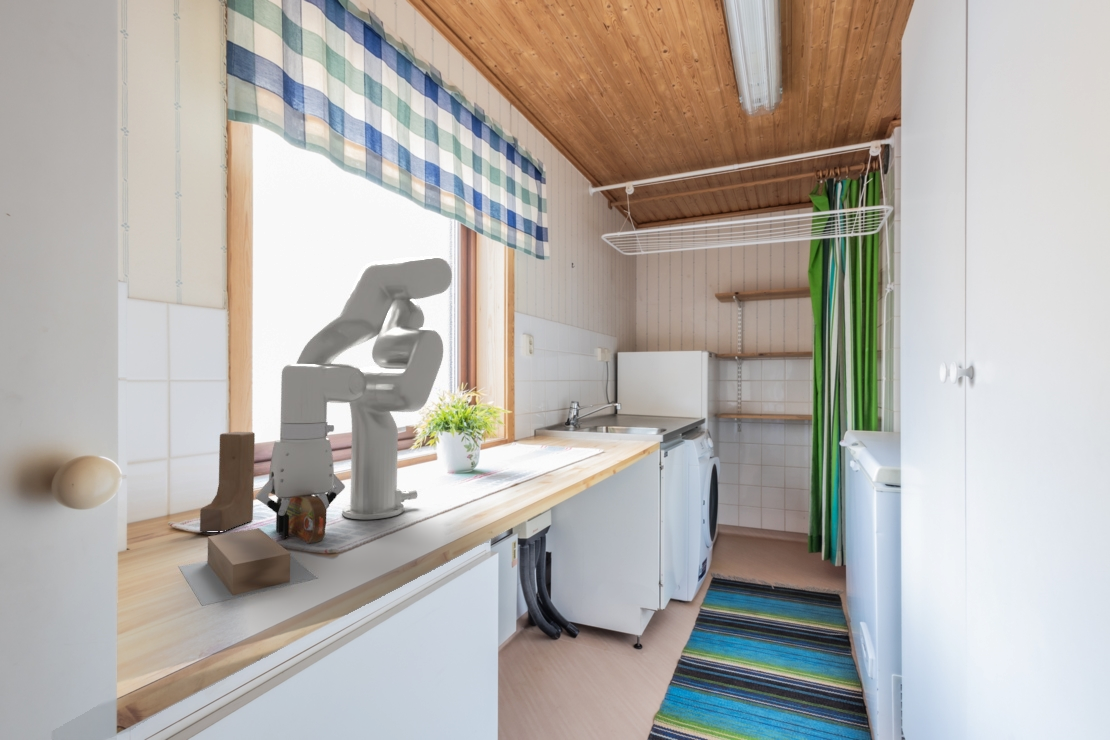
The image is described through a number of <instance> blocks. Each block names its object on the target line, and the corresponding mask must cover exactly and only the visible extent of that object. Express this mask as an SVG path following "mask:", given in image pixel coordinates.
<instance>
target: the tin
mask: <svg viewBox="0 0 1110 740" xmlns="http://www.w3.org/2000/svg"><path fill="white" fill-rule="evenodd" d="M286 511H287V515H289V534H291V535H292V536H295V538H296V537H297V538H298V539H301V540H302V541H304V542H306V544H307V545H309V544H313V543H318V542H321V541H323V539H324V537H325V534H326V525H327V509H326V508H325V505H324V503H323V501H322V500H321V499H320V498H318V497H315V495H309V496H300V497H294V498H291V499H290V502H289V505H288V507H287V510H286Z"/></svg>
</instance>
